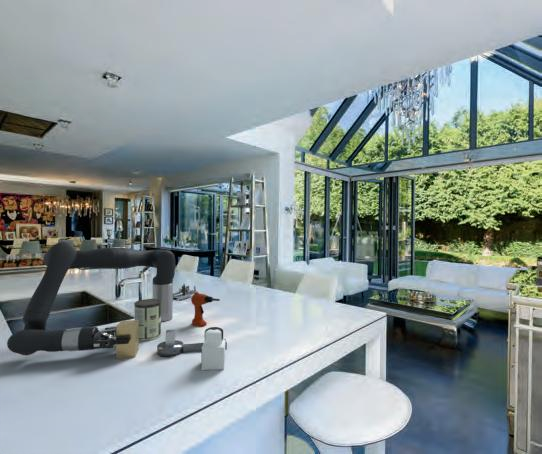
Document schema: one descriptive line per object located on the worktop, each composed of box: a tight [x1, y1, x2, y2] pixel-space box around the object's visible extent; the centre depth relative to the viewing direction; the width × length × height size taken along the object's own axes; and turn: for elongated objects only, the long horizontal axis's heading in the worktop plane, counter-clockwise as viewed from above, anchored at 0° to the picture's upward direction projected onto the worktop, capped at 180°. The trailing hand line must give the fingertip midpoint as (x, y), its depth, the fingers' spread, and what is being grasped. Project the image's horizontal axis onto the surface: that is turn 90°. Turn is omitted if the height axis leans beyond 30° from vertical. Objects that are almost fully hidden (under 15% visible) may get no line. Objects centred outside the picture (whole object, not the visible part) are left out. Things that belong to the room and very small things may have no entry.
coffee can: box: [133, 298, 162, 342], centre depth 126 cm, size 10×10×14 cm
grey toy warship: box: [173, 283, 198, 302], centre depth 191 cm, size 14×7×20 cm
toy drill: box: [190, 291, 221, 328], centre depth 139 cm, size 5×19×15 cm, turn 52°
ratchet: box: [156, 329, 228, 358], centre depth 113 cm, size 24×9×8 cm, turn 103°
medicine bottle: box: [200, 326, 227, 371], centre depth 101 cm, size 7×7×12 cm
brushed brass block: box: [115, 319, 140, 359], centre depth 109 cm, size 6×6×11 cm
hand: (131, 335), depth 109 cm, fingers open, 8 cm apart
